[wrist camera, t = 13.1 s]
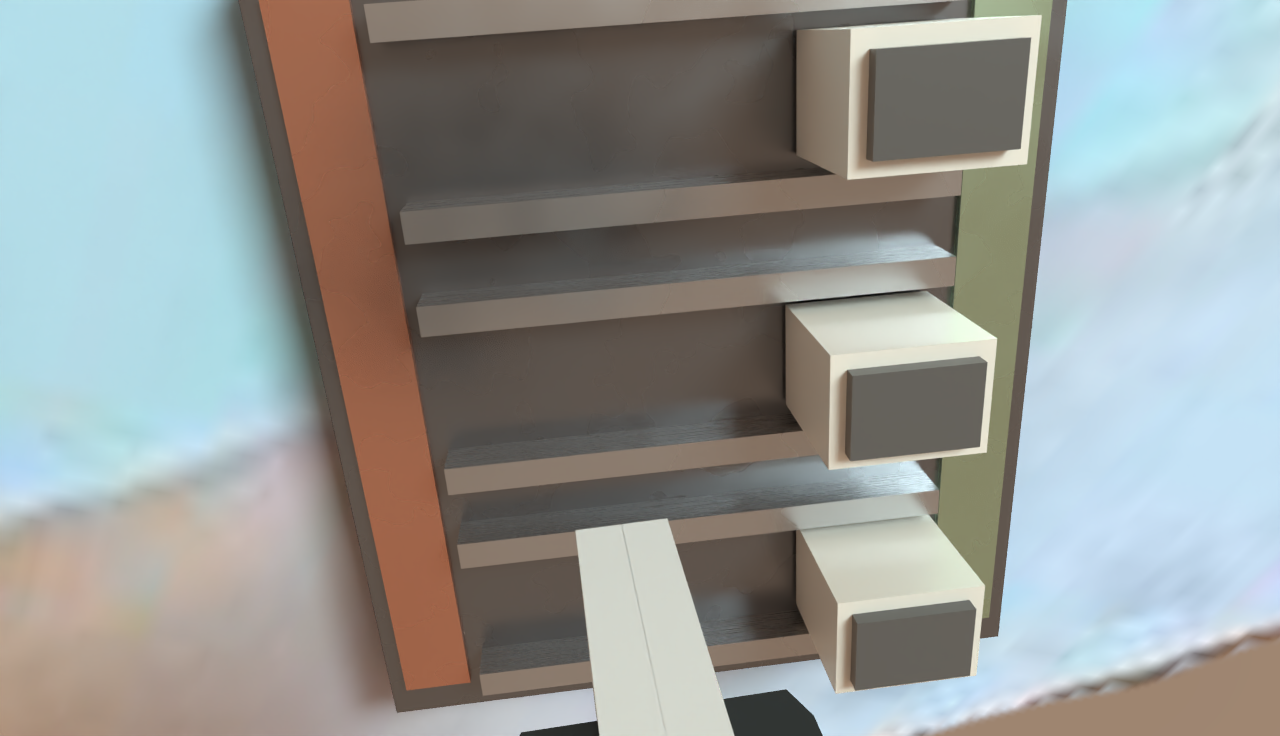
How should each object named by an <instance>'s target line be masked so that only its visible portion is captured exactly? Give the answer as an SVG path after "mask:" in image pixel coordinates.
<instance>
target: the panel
mask: <svg viewBox="0 0 1280 736" xmlns="http://www.w3.org/2000/svg"><path fill="white" fill-rule="evenodd" d="M239 5H240V9H241V14H242V18H243V23H244V27H245V32H246V36H247V41H248V45H249V50H250V54H251V59H252V63H253V68H254V72H255V77H256V81H257V86H258V90H259V95H260V99H261V104H262V108H263V113H264V117H265V122H266V126H267V131H268V135H269V140H270V144H271V149H272V153H273V158H274V162H275V167H276V171H277V176H278V180H279V185H280V189H281V194H282V198H283V203H284V207H285V212H286V216H287V221H288V225H289V230H290V234H291V239H292V243H293V248H294V252H295V257H296V261H297V266H298V270H299V275H300V279H301V284H302V288H303V293H304V297H305V302H306V306H307V311H308V315H309V320H310V324H311V329H312V333H313V338H314V342H315V347H316V351H317V356H318V360H319V365H320V369H321V374H322V378H323V383H324V387H325V392H326V396H327V401H328V405H329V410H330V414H331V419H332V423H333V428H334V432H335V437H336V441H337V445H338V450H339V454H340V459H341V463H342V468H343V472H344V477H345V481H346V486H347V490H348V495H349V499H350V504H351V508H352V513H353V517H354V522H355V526H356V531H357V535H358V540H359V544H360V549H361V553H362V558H363V562H364V567H365V571H366V576H367V580H368V585H369V589H370V594H371V598H372V603H373V607H374V612H375V616H376V621H377V625H378V630H379V634H380V639H381V643H382V648H383V652H384V657H385V661H386V666H387V670H388V675H389V679H390V684H391V688H392V693H393V697H394V702H395V706H396V711H397V713H398V712H406V711H414V710H421V709H429V708H437V707H445V706H453V705H461V704H469V703H477V702H484V701H492V700H500V699H508V698H516V697H524V696H532V695H539V694H547V693H555V692H563V691H571V690H579V689H587V688H593V683H592V674H591V666H590V657H589V648H588V639H587V630H586V621H585V612H584V603H583V594H582V585H581V576H580V567H579V558H578V549H577V540H576V531H575V530H582V529H589V528H597V527H604V526H612V525H620V524H627V523H635V522H643V521H650V520H658V519H666V518H667V519H668V522H669V526H670V529H671V532H672V535H673V539H674V542H675V545H676V548H677V551H678V555H679V558H680V561H681V564H682V568H683V571H684V574H685V577H686V581H687V584H688V587H689V590H690V594H691V597H692V600H693V603H694V607H695V610H696V613H697V616H698V619H699V623H700V626H701V629H702V632H703V636H704V639H705V642H706V645H707V649H708V652H709V655H710V658H711V662H712V665H713V668H714V671H715V672H720V671H728V670H736V669H744V668H752V667H760V666H767V665H775V664H783V663H791V662H799V661H807V660H815V659H820V657H819V654H818V652H817V650H816V648H815V645H814V643H813V641H812V639H811V636H810V634H809V632H808V629H807V627H806V625H805V623H804V620H803V618H802V616H801V614H800V611H799V609H798V607H797V604H796V530H801V529H809V528H818V527H827V526H835V525H844V524H852V523H861V522H870V521H878V520H887V519H895V518H904V517H913V516H921V515H929V516H930V517H931V518H932V520H933V521H934V522H935V523H936V525H937V526H938V527H939V528H940V530H941V531H942V532H943V533H944V535H945V536H946V537H947V538H948V540H949V541H950V542H951V543H952V545H953V546H954V547H955V548H956V550H957V551H958V552H959V553H960V555H961V556H962V557H963V558H964V560H965V561H966V562H967V563H968V565H969V566H970V567H971V568H972V570H973V571H974V572H975V573H976V575H977V576H978V577H979V579H980V580H981V581H982V582H983V584H984V585H985V592H984V602H983V612H982V622H981V632H980V638H988V637H996V636H998V631H999V622H1000V613H1001V604H1002V594H1003V585H1004V576H1005V567H1006V558H1007V548H1008V539H1009V530H1010V521H1011V512H1012V503H1013V493H1014V484H1015V475H1016V466H1017V457H1018V447H1019V438H1020V429H1021V420H1022V411H1023V402H1024V392H1025V383H1026V374H1027V365H1028V356H1029V347H1030V337H1031V328H1032V319H1033V310H1034V301H1035V291H1036V282H1037V273H1038V264H1039V255H1040V246H1041V236H1042V227H1043V218H1044V209H1045V200H1046V190H1047V181H1048V172H1049V163H1050V154H1051V145H1052V135H1053V126H1054V117H1055V108H1056V99H1057V90H1058V80H1059V71H1060V62H1061V53H1062V44H1063V34H1064V25H1065V16H1066V7H1067V0H239ZM1029 15H1042V19H1041V29H1040V39H1039V49H1038V59H1037V69H1036V79H1035V89H1034V99H1033V109H1032V119H1031V129H1030V139H1029V149H1028V160H1027V164H1023V165H1012V166H1000V167H989V168H977V169H966V170H954V171H943V172H931V173H920V174H908V175H897V176H885V177H873V178H862V179H850V180H847V179H845V178H843V177H841V176H839V175H836V174H834V173H832V172H830V171H828V170H826V169H824V168H822V167H820V166H818V165H816V164H814V163H812V162H810V161H807V160H805V159H803V158H801V157H799V156H797V155H796V58H797V30H804V29H818V28H831V27H845V26H858V25H872V24H885V23H899V22H912V21H926V20H940V19H953V18H978V17H1003V16H1029ZM921 291H927V292H929V293H930V294H932V295H933V296H935V297H936V298H938V299H939V300H941V301H942V302H944V303H945V304H947V305H948V306H950V307H951V308H953V309H954V310H956V311H957V312H959V313H960V314H962V315H963V316H965V317H966V318H968V319H969V320H970V321H972V322H973V323H975V324H976V325H978V326H979V327H981V328H982V329H984V330H985V331H987V332H988V333H990V334H991V335H993V336H994V337H996V338H997V347H996V358H995V368H994V379H993V390H992V400H991V411H990V422H989V432H988V443H987V453H978V454H969V455H960V456H951V457H942V458H933V459H924V460H915V461H906V462H897V463H888V464H879V465H870V466H861V467H852V468H843V469H834V470H828V468H827V467H826V465H825V464H824V462H823V461H822V459H821V458H820V456H819V454H818V453H817V451H816V450H815V448H814V447H813V445H812V444H811V442H810V441H809V439H808V438H807V436H806V434H805V433H804V431H803V430H802V428H801V427H800V425H799V424H798V422H797V421H796V419H795V418H794V416H793V414H792V413H791V411H790V410H789V408H788V407H787V405H786V326H785V305H787V304H797V303H807V302H818V301H828V300H838V299H849V298H859V297H869V296H879V295H890V294H900V293H910V292H921Z"/></svg>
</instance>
